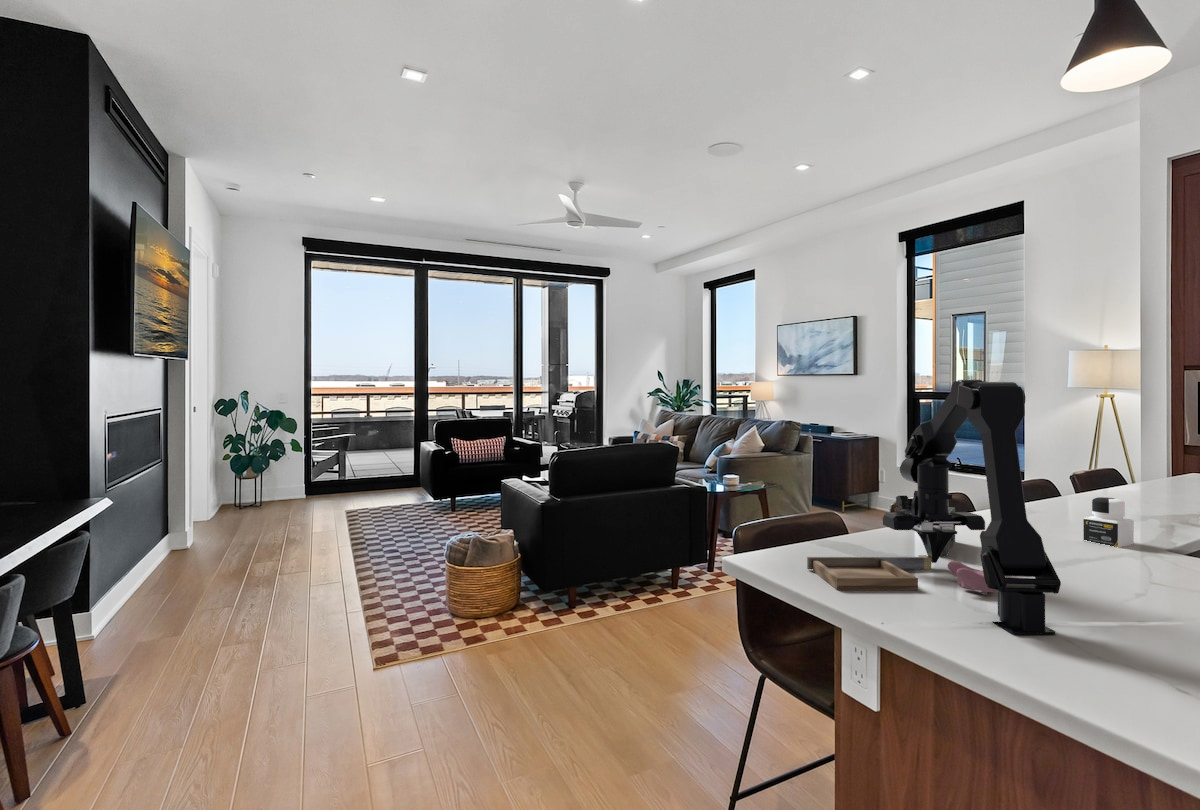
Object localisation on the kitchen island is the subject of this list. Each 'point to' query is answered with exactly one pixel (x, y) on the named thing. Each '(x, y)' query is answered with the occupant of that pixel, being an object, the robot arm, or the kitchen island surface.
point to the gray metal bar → (873, 562)
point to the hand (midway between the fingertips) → (933, 562)
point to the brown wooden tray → (867, 577)
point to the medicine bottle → (1109, 523)
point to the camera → (952, 540)
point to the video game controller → (969, 577)
